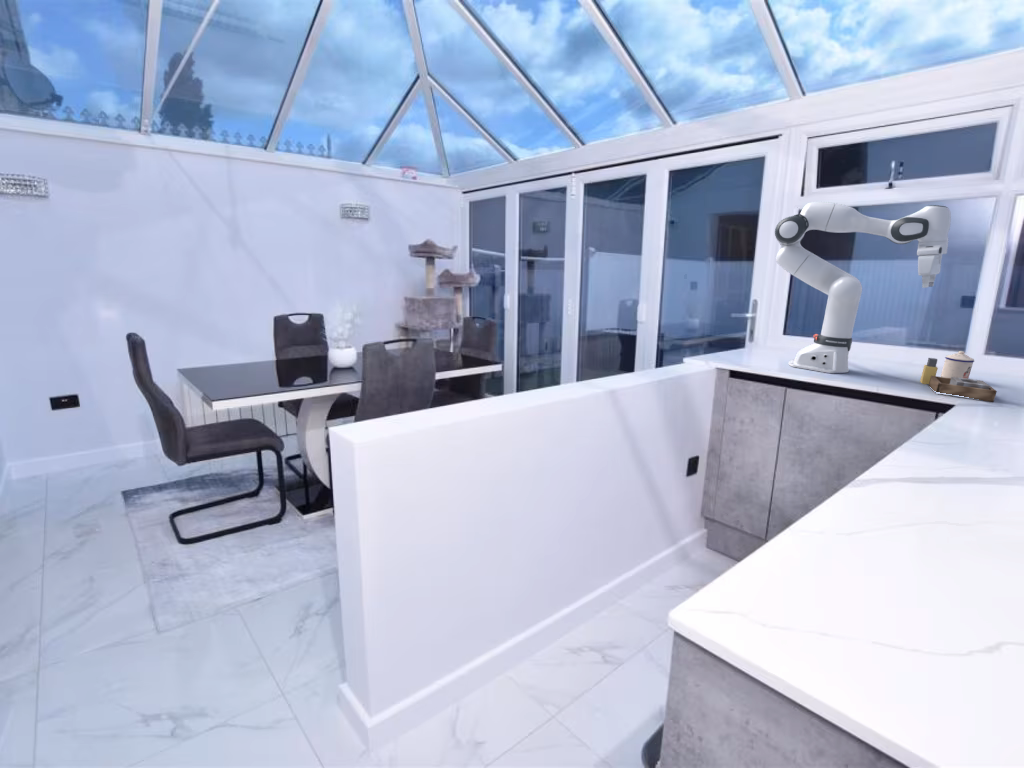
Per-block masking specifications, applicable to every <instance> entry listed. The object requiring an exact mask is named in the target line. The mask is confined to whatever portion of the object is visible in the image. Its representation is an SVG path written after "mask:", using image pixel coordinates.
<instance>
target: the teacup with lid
mask: <svg viewBox="0 0 1024 768" xmlns="http://www.w3.org/2000/svg"><path fill="white" fill-rule="evenodd" d="M944 358H945V360H944V363H943V367H942V370H941V374H940V377H945V378H951V377H957V378H965V379H970V374H971V370H972V367H973V365H974V362H975V359H974V358H972V357H970V356H969V355H968V354H965V351H964V350H963V351H962V350H959V351H958V352H956V353H953V354H948V355H946V356H945V357H944Z"/></svg>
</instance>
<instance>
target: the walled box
mask: <svg viewBox="0 0 1024 768" xmlns="http://www.w3.org/2000/svg"><path fill="white" fill-rule="evenodd" d="M929 386H930V387H931V388H932V389H933V390H934V391H936V392H940V393H946V394H952V395H959V396H964V397H969V398H974V399H979V400H978V401H981V400H983V401H982V402H989V403H994V402H995V398H996V395H997V392H998V391H997V390H996V389H995V388H993V387H992V386H991V385H989V384H988V383H987V382H986V381H984V380H980V379H979V380H978V379H972V378H971V379H970V378H968V379H965V378H957V377H951V378H945V377H941V376H937V375H936V376H931V378H930V382H929ZM929 386H928V387H929ZM930 387H929V388H930ZM931 388H930V389H931ZM932 389H931V390H932ZM933 390H932V391H933ZM934 391H933V392H934ZM974 399H973V400H974Z"/></svg>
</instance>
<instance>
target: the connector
mask: <svg viewBox="0 0 1024 768" xmlns="http://www.w3.org/2000/svg"><path fill="white" fill-rule="evenodd" d="M937 363H938V358H935V357H928V359H927V363H926V364H924V365H923V369H922V372H921V377H920V380H919V383H920V382H921V383H922V384H921V383H920V384H921V385H926V384H929V382H930V378H931V376H937V373H938V369H939V367H938V366H937Z"/></svg>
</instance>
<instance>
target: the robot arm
mask: <svg viewBox="0 0 1024 768" xmlns="http://www.w3.org/2000/svg"><path fill="white" fill-rule="evenodd" d="M951 217H952V216H951V210H950V208H949V207H947V206H946V205H941V204H940V205H938V204H935V205H934V204H931V205H929V204H928V205H926V206H924V207H923V208H921V209H919V210H918V211H916V212H914V213H911V214H908V215H906V216H904V217H903V216H902V217H901V218H899V219H892V220H889V219H883V218H878V217H871V216H868V215H865V214H862V213H861V212H859V211H858V210H857V209H856V208H854V207H852V206H848V205H845V204H842V203H838V202H836V203H835V202H829V201H828V202H827V201H826V202H825V201H810V202H808V203H806V204H805V205H804V207H803V208H802V209H801V211H800V213H798V214H797V213H796V214H794V215H791V216H788V217H784V218H783V219H781V220H779V222H778V223H777V225H776V226H775V228H774V236H775V239H776V241H777V242H778V243H779V244H780V249H779V250H778V252H777V253H776V256H775V262H776V263H777V264H778V265H779V266H780V267H781V268H782V269H783V270H785V271H786V272H787V273H789V275H791V276H794V277H795V278H796V279H798V280H799V281H802V282H804V283H805V284H807V285H808V286H811V287H812V288H814V289H815V290H818V291H820V292H821V293H823V294H825V295H826V296H827V301H826V307H825V312H824V318H823V321H822V327H821V332H820V334H818V333H815V334H813V343H810V344H808V345H807V346H804V347H802V348H800V349H799V350H798V351H797V353H796V355H795V358H794V359H790V360H788V365H789V366H790V367H793V368H798V369H802V370H803V369H804V370H810V371H816V372H821V373H829V374H835V373H838V374H839V373H843V374H844V373H849V370H850V369H849V354H850V351H851V348H852V344H853V338H852V337H853V331H854V327H855V324H856V318H857V314H858V311H859V305H860V301H861V298H862V297H861V296H862V292H863V286H862V282H861V281H860V279H858V278H857V277H856V276H854V275H853V274H850V273H849V272H847V271H845V270H843V269H842V268H840V267H838V266H836V265H834V264H833V263H830V262H828V261H827V260H825V259H823V258H821V256H819V255H816V254H814V253H813V252H812V251H809V250H808V249H806V248H804V247H803V246H802V241H803V239H804V237H805V234H806V232H807V233H808V231H812V230H813V231H815V230H817V231H822V232H827V233H835V234H837V233H839V234H841V233H862V234H863V233H864V234H870V235H874V236H880V237H883V238H886V239H887V240H889V241H890V242H892V243H893V244H896V245H906V244H910V243H911V242H913V241H918V243H917V251H916V256H918V257H917V274H918V276H921V281H922V282H921V283H922V284H921V285H922V287H921V288H922V289H926V288H929V287H934V286H935V281H936V277H937V275H939V274H940V273H941V268H942V259H943V255H947V254H948V248H949V247H948V245H949V232H950V229H951V220H952V218H951Z"/></svg>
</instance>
